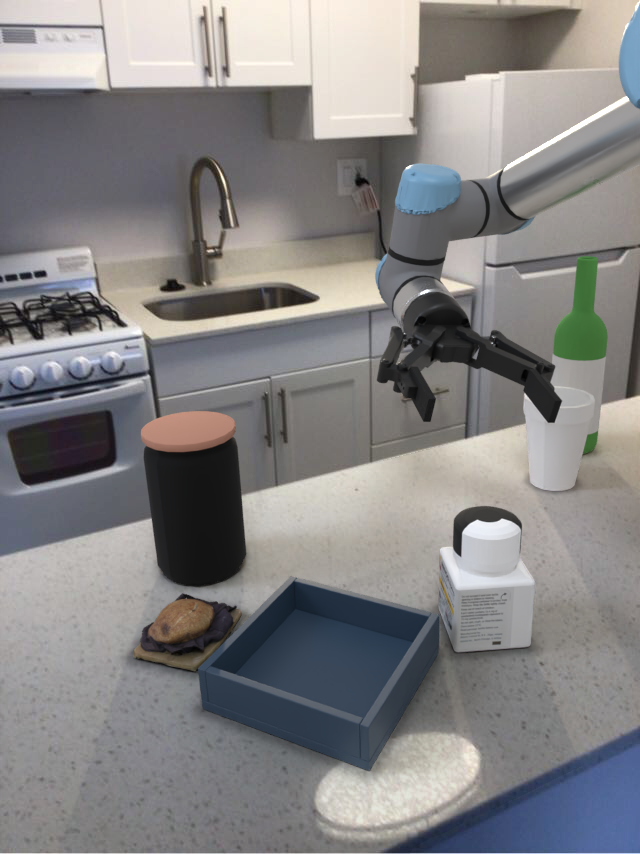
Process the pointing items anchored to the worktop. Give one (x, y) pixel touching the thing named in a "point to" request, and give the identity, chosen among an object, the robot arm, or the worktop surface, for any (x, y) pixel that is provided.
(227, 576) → the coffee jar
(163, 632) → the bread roll
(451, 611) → the container
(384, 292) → the robot arm
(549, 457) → the foam cup
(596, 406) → the wine bottle
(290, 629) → the tote
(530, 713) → the worktop surface
